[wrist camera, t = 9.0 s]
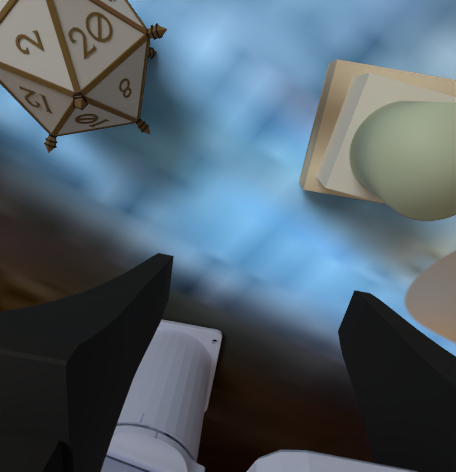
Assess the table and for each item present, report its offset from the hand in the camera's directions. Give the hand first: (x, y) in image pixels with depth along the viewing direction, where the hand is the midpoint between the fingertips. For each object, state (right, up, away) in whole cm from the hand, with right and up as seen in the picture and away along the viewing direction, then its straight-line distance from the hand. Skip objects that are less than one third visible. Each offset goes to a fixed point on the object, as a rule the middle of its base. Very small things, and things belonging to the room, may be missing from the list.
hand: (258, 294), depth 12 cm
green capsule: (+7, +7, +3) cm, 10 cm away
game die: (-8, +13, +7) cm, 17 cm away
